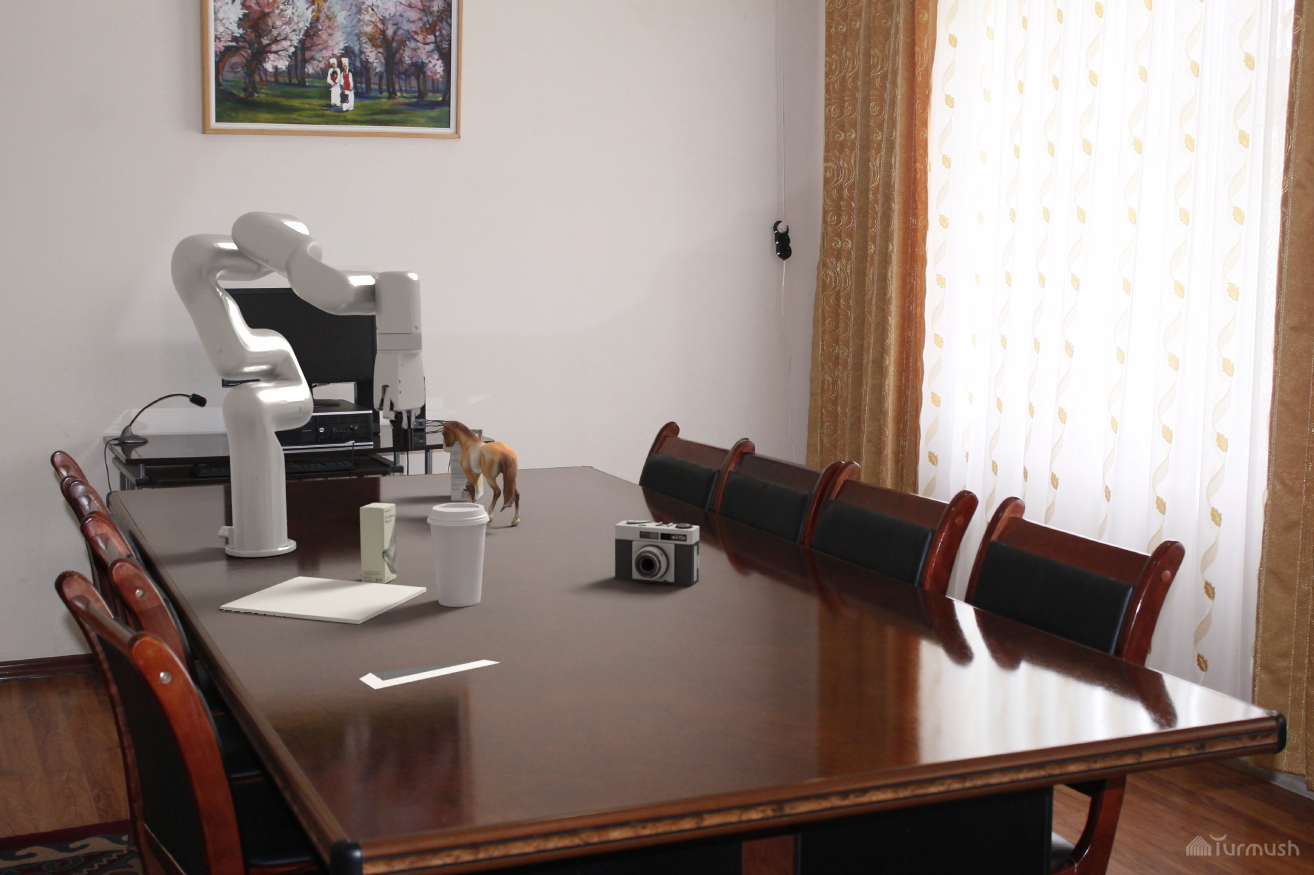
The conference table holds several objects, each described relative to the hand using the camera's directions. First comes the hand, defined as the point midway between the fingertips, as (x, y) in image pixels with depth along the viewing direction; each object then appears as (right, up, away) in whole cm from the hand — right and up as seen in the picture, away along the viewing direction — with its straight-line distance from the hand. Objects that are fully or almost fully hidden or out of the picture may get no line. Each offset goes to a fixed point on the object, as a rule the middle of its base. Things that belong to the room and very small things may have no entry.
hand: (403, 450), depth 198 cm
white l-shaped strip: (+16, -27, -41) cm, 51 cm away
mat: (-8, -23, -18) cm, 30 cm away
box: (-3, -22, -5) cm, 23 cm away
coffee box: (-2, -12, +76) cm, 77 cm away
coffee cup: (+13, -24, -18) cm, 32 cm away
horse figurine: (+5, -16, +47) cm, 50 cm away
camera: (+43, -22, -5) cm, 49 cm away
